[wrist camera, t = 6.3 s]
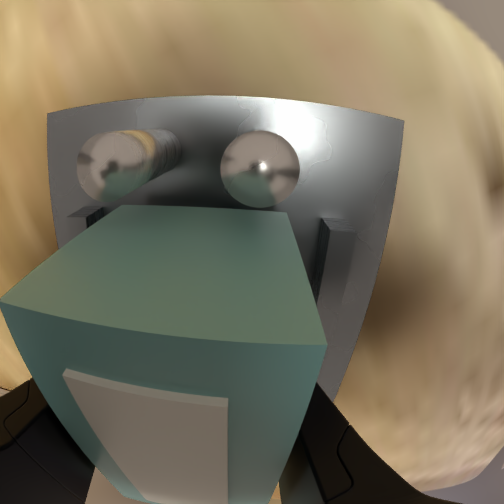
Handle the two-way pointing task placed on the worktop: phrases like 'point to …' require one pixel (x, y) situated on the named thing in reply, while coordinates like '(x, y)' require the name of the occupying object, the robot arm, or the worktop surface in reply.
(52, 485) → the robot arm
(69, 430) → the block
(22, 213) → the worktop surface
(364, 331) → the worktop surface
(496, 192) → the worktop surface
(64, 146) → the metal plate device
